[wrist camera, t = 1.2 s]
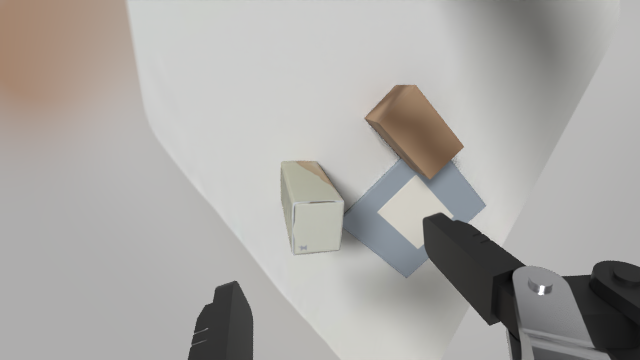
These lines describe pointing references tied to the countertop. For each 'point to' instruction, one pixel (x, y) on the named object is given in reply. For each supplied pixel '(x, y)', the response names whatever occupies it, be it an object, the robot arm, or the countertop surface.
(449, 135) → the walnut slab
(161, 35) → the countertop surface
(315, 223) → the box
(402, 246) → the plate
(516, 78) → the countertop surface
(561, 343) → the robot arm
